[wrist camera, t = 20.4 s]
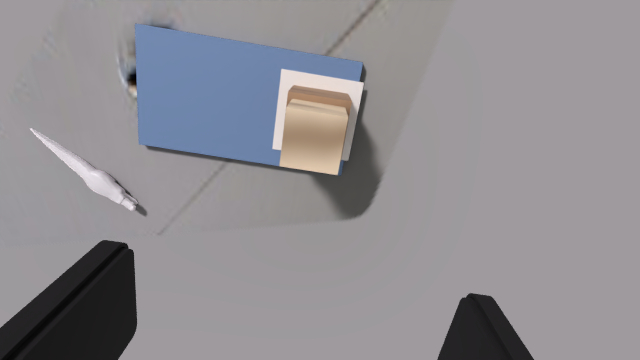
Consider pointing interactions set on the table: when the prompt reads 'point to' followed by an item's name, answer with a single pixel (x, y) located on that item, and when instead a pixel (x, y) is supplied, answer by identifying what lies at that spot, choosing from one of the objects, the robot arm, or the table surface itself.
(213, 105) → the board
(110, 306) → the robot arm
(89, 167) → the stylus pen
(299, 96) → the walnut cube
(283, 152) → the maple cube
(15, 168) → the table surface
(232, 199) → the table surface
